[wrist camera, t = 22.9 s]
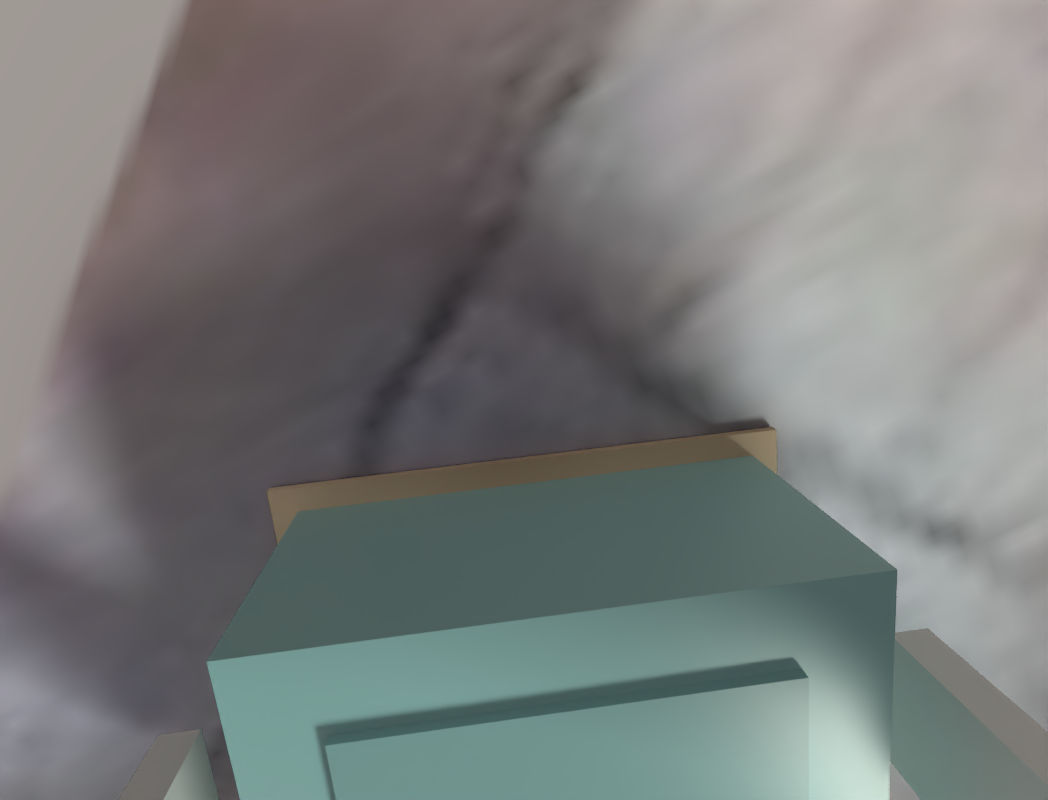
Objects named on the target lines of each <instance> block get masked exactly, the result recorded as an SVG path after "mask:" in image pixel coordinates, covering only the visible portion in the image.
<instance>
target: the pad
mask: <svg viewBox="0 0 1048 800" xmlns="http://www.w3.org/2000/svg"><path fill="white" fill-rule="evenodd" d="M752 455H753V456H754V457H755V458H756V459H758V460H759V461H760V462H761V463H763V464H764V465H765V466H767V467H768V468H769V469H770V470H772V471H773V472H774V473H775V474H777V441H776V429H775V428H773V427H767V428H759V429H751V430H743V431H734V432H726V433H718V434H710V435H701V436H693V437H685V438H677V439H668V440H660V441H652V442H644V443H635V444H627V445H619V446H611V447H602V448H594V449H586V450H578V451H569V452H561V453H553V454H545V455H536V456H528V457H520V458H512V459H503V460H495V461H487V462H479V463H470V464H462V465H454V466H446V467H437V468H429V469H421V470H413V471H404V472H396V473H388V474H380V475H371V476H363V477H355V478H347V479H338V480H330V481H322V482H314V483H305V484H297V485H289V486H281V487H272V488H269V489H268V491H267V496H268V501H269V505H270V510H271V515H272V520H273V525H274V530H275V535H276V540H277V544H278V543H279V542H280V540H281V538H282V537H283V535H284V533H285V532H286V530H287V529H288V527H289V525H290V524H291V522H292V520H293V519H294V517H295V515H296V514H297V512H298V511H306V510H314V509H322V508H330V507H338V506H346V505H355V504H363V503H371V502H379V501H387V500H395V499H403V498H411V497H419V496H428V495H436V494H444V493H452V492H460V491H468V490H476V489H484V488H492V487H501V486H509V485H517V484H525V483H533V482H541V481H549V480H557V479H565V478H574V477H582V476H590V475H598V474H606V473H614V472H622V471H630V470H638V469H647V468H655V467H663V466H671V465H679V464H687V463H695V462H703V461H711V460H720V459H728V458H736V457H744V456H752Z"/></svg>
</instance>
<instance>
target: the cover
mask: <svg viewBox="0 0 1048 800" xmlns="http://www.w3.org/2000/svg"><path fill="white" fill-rule="evenodd" d="M896 588H897V569H896V568H894V567H893V566H892V565H891V564H889V563H888V562H887V561H886V560H884V559H883V558H882V557H880V556H879V555H878V554H877V553H875V552H874V551H873V550H872V549H870V548H869V547H868V546H867V545H865V544H864V543H863V542H861V541H860V540H859V539H858V538H856V537H855V536H854V535H853V534H851V533H850V532H849V531H848V530H846V529H845V528H844V527H842V526H841V525H840V524H839V523H837V522H836V521H835V520H834V519H832V518H831V517H830V516H829V515H827V514H826V513H825V512H824V511H822V510H821V509H820V508H818V507H817V506H816V505H815V504H813V503H812V502H811V501H810V500H808V499H807V498H806V497H805V496H803V495H802V494H801V493H799V492H798V491H797V490H796V489H794V488H793V487H792V486H791V485H789V484H788V483H787V482H786V481H784V480H783V479H782V478H780V477H779V476H778V475H777V474H775V473H774V472H773V471H772V470H770V469H769V468H768V467H767V466H765V465H764V464H763V463H761V462H760V461H759V460H758V459H756V458H755V457H754V456H753V455H752V456H744V457H736V458H728V459H720V460H711V461H703V462H695V463H687V464H679V465H671V466H663V467H655V468H647V469H638V470H630V471H622V472H614V473H606V474H598V475H590V476H582V477H574V478H565V479H557V480H549V481H541V482H533V483H525V484H517V485H509V486H501V487H492V488H484V489H476V490H468V491H460V492H452V493H444V494H436V495H428V496H419V497H411V498H403V499H395V500H387V501H379V502H371V503H363V504H355V505H346V506H338V507H330V508H322V509H314V510H306V511H298V512H297V514H296V515H295V517H294V519H293V520H292V522H291V524H290V525H289V527H288V529H287V530H286V532H285V533H284V535H283V537H282V538H281V540H280V542H279V543H278V545H277V547H276V548H275V550H274V552H273V553H272V555H271V556H270V558H269V560H268V561H267V563H266V565H265V566H264V568H263V570H262V571H261V573H260V575H259V576H258V578H257V579H256V581H255V583H254V584H253V586H252V588H251V589H250V591H249V593H248V594H247V596H246V598H245V599H244V601H243V602H242V604H241V606H240V607H239V609H238V611H237V612H236V614H235V616H234V617H233V619H232V621H231V622H230V624H229V625H228V627H227V629H226V630H225V632H224V634H223V635H222V637H221V639H220V640H219V642H218V644H217V645H216V647H215V648H214V650H213V652H212V653H211V655H210V657H209V658H208V660H207V667H208V671H209V675H210V679H211V683H212V687H213V691H214V695H215V699H216V703H217V708H218V712H219V716H220V720H221V724H222V728H223V732H224V736H225V740H226V744H227V749H228V753H229V757H230V761H231V765H232V769H233V773H234V777H235V781H236V785H237V790H238V794H239V798H240V800H889V786H890V758H891V730H892V701H893V673H894V644H895V616H896Z"/></svg>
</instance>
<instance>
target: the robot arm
mask: <svg viewBox="0 0 1048 800" xmlns="http://www.w3.org/2000/svg"><path fill="white" fill-rule="evenodd" d="M890 761H891V763H892V764H893V765H894V766H895V768H896V769H897V770H898V771H899V773H900V774H901V775H902V776H903V778H904V779H905V780H906V781H907V783H908V784H909V785H910V786H911V788H912V789H913V790H914V791H915V793H916V794H917V795H918V797H919V798H920V799H921V800H1048V732H1047V731H1046V730H1045V729H1043V728H1042V727H1041V726H1040V725H1039V724H1038V723H1037V722H1035V721H1034V720H1033V719H1032V718H1031V717H1030V716H1028V715H1027V714H1026V713H1025V712H1024V711H1023V710H1021V709H1020V708H1019V707H1018V706H1017V705H1016V704H1015V703H1013V702H1012V701H1011V700H1010V699H1009V698H1008V697H1006V696H1005V695H1004V694H1003V693H1002V692H1001V691H1000V690H998V689H997V688H996V687H995V686H994V685H993V684H991V683H990V682H989V681H988V680H987V679H986V678H984V677H983V676H982V675H981V674H980V673H979V672H978V671H976V670H975V669H974V668H973V667H972V666H971V665H969V664H968V663H967V662H966V661H965V660H964V659H963V658H961V657H960V656H959V655H958V654H957V653H956V652H954V651H953V650H952V649H951V648H950V647H949V646H948V645H946V644H945V643H944V642H943V641H942V640H941V639H939V638H938V637H937V636H936V635H935V634H934V633H932V632H931V631H930V630H929V629H928V628H927V629H920V630H913V631H905V632H898V633H895V644H894V673H893V701H892V730H891V758H890ZM119 800H219V797H218V793H217V789H216V785H215V781H214V777H213V773H212V769H211V765H210V761H209V757H208V753H207V749H206V745H205V741H204V737H203V733H202V729H197V730H190V731H182V732H175V733H168V734H161V735H158V736H157V738H156V739H155V741H154V743H153V744H152V746H151V748H150V749H149V751H148V752H147V754H146V756H145V757H144V759H143V761H142V762H141V764H140V765H139V767H138V769H137V770H136V772H135V774H134V775H133V777H132V778H131V780H130V782H129V783H128V785H127V787H126V788H125V790H124V791H123V793H122V795H121V796H120V798H119Z"/></svg>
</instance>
